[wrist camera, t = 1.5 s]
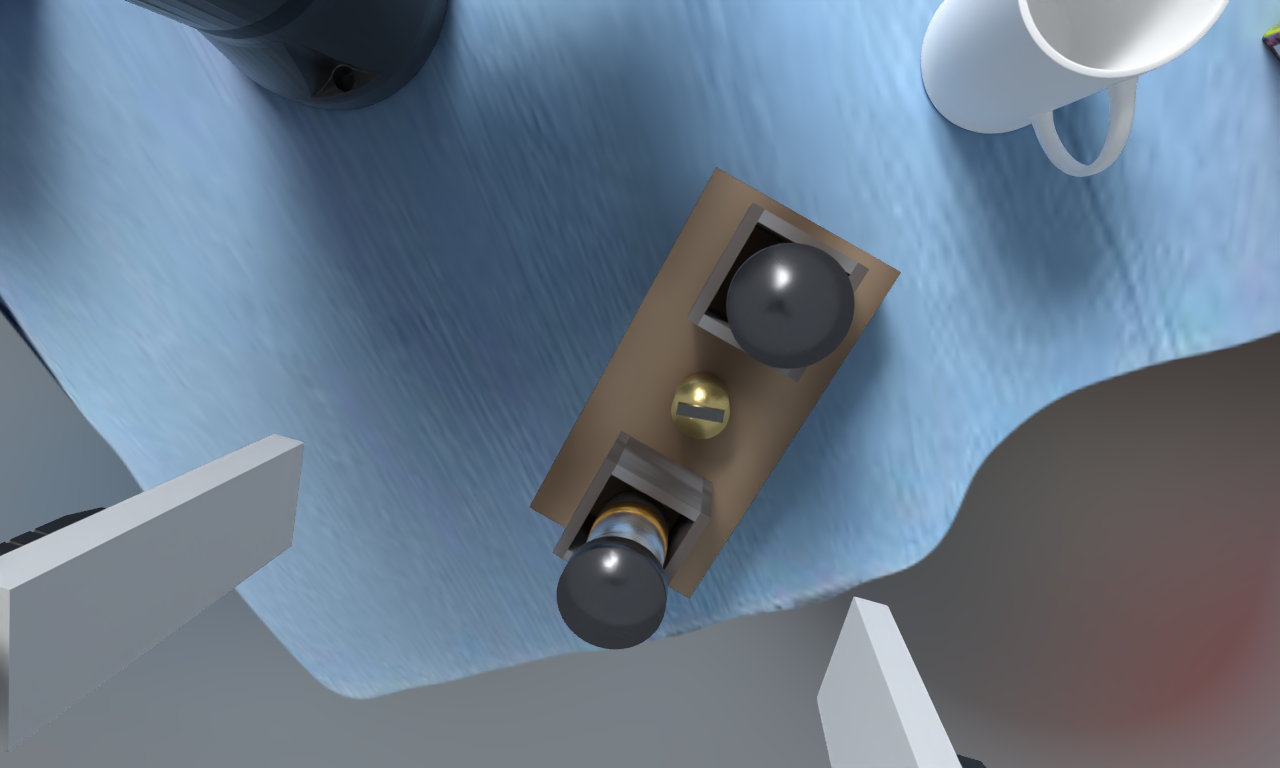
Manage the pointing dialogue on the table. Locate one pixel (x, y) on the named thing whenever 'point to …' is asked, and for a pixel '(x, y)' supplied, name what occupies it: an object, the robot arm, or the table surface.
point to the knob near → (790, 305)
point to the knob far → (618, 574)
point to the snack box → (1273, 39)
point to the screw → (701, 405)
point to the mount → (684, 344)
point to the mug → (1053, 62)
